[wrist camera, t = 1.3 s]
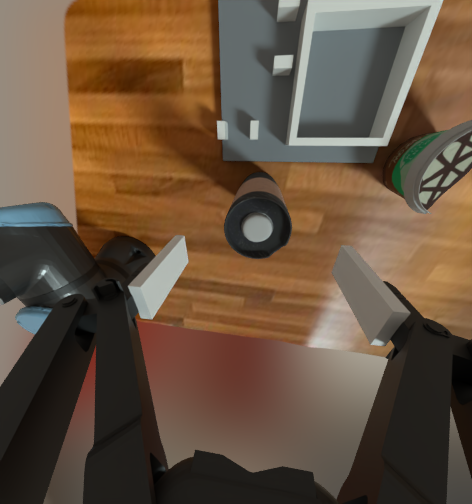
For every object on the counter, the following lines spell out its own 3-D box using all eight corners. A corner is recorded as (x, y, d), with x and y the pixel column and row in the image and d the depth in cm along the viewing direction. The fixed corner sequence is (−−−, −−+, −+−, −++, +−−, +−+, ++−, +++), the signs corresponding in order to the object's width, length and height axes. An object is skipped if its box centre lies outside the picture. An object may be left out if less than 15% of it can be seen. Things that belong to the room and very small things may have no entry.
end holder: (285, 145, 31) (288, 145, 27) (301, 20, 23) (308, -1, 20) (372, 145, 29) (387, 146, 26) (418, 13, 22) (447, -11, 18)
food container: (416, 109, 27) (485, 93, 19) (448, 126, 28) (530, 118, 20) (359, 186, 34) (391, 200, 25) (386, 199, 34) (427, 217, 26)
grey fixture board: (224, 160, 34) (223, 160, 33) (220, 4, 24) (218, -4, 23) (368, 162, 32) (372, 162, 30) (428, -11, 22) (439, -21, 20)
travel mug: (240, 169, 35) (221, 194, 18) (280, 170, 34) (299, 196, 17) (240, 208, 39) (223, 257, 22) (275, 209, 38) (287, 262, 21)
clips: (221, 139, 31) (217, 139, 29) (217, 12, 24) (211, -4, 21) (281, 139, 30) (283, 139, 28) (296, 6, 23) (301, -11, 20)
